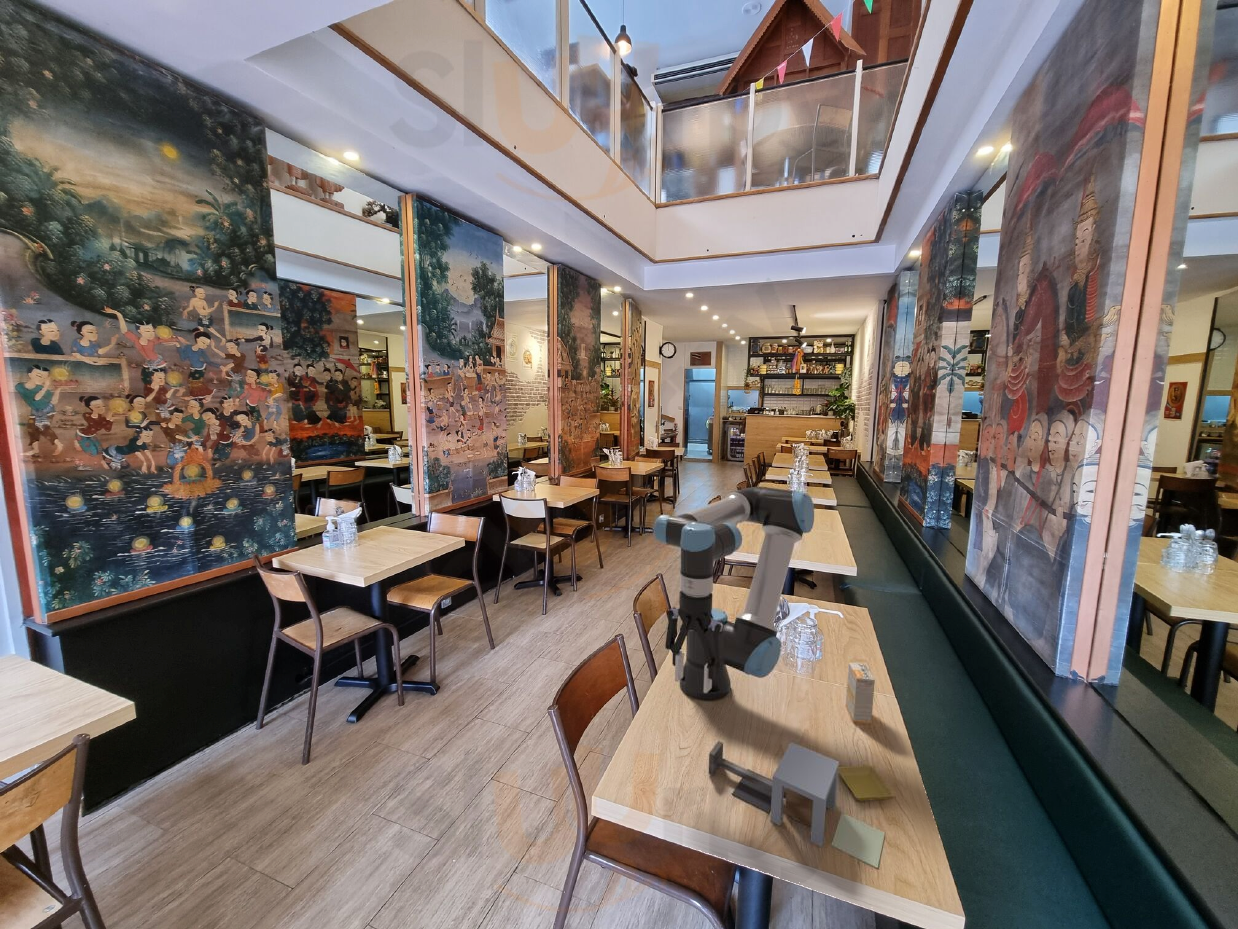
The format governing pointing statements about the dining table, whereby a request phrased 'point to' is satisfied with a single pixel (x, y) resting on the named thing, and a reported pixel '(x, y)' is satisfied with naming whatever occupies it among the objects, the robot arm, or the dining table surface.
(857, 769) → the yellow tray
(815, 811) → the tunnel
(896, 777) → the dining table surface
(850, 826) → the pad
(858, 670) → the supplement box
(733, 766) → the push rod
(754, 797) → the mat
